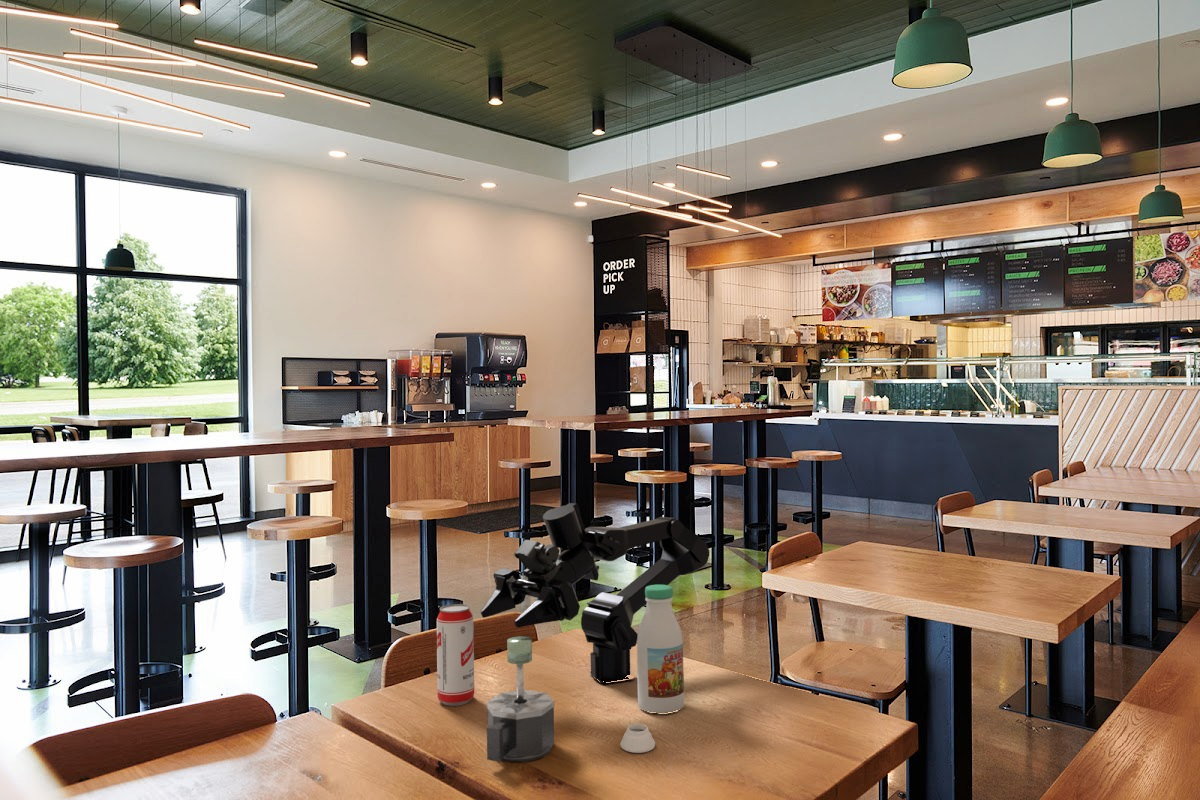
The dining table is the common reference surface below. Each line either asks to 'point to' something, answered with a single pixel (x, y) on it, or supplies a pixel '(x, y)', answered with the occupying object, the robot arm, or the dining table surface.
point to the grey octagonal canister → (520, 727)
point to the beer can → (455, 655)
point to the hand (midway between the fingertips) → (498, 619)
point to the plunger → (519, 660)
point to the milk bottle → (660, 654)
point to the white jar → (637, 739)
